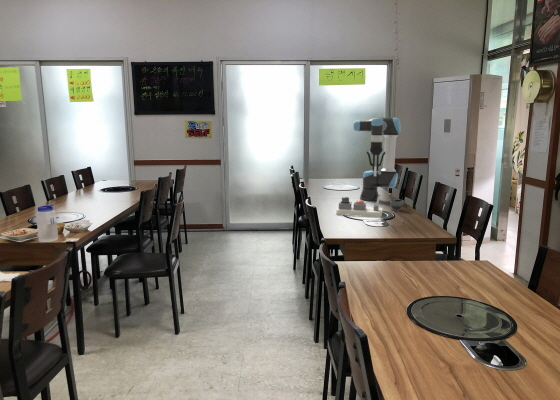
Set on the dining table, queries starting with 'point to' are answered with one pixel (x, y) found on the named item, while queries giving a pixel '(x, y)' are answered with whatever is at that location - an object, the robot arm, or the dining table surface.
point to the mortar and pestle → (395, 203)
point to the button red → (359, 202)
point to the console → (358, 210)
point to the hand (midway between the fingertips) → (375, 175)
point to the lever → (378, 200)
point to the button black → (345, 200)
